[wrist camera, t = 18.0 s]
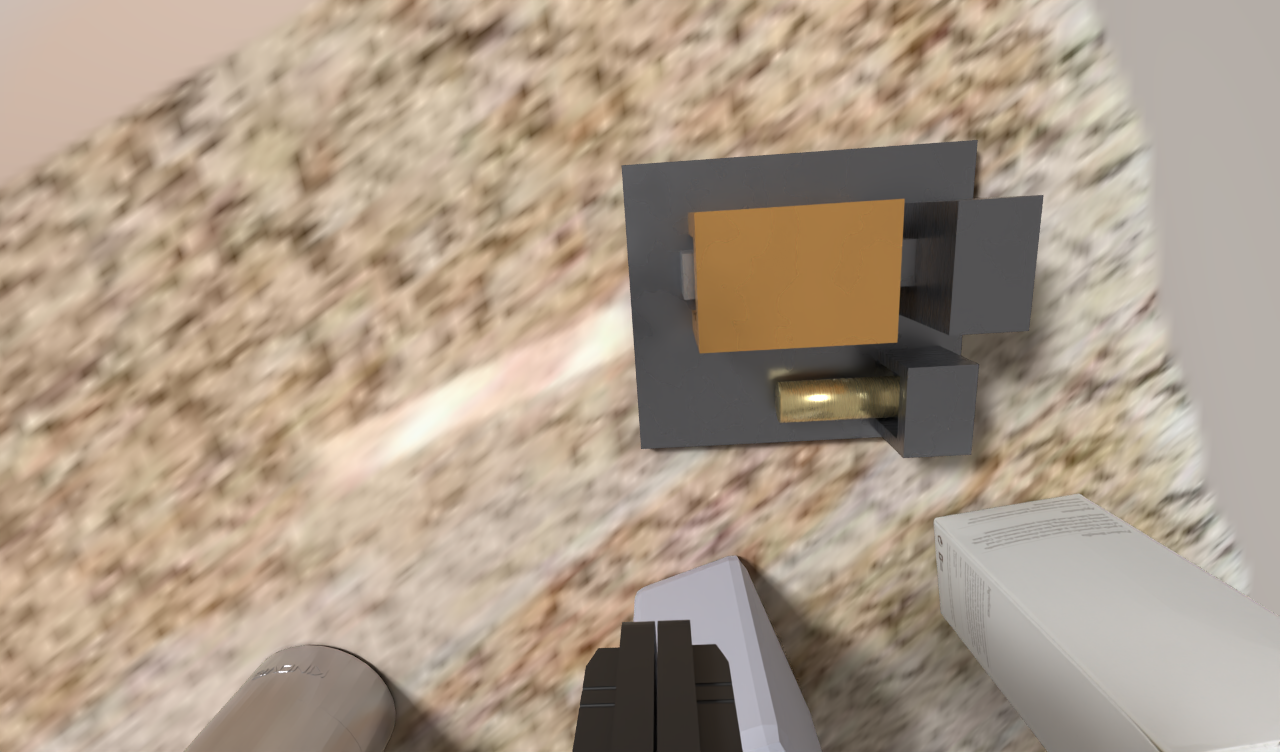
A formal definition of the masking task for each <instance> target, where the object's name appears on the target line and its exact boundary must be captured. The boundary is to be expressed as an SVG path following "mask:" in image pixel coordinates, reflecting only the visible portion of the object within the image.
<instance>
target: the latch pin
mask: <svg viewBox="0 0 1280 752" xmlns="http://www.w3.org/2000/svg"><path fill="white" fill-rule="evenodd" d="M899 392H900V376H899V375H896V376H878V377H860V378H841V379H823V380H804V381H786V382H777V383H776V386H775V408H776V415H777V419H778V421H779V423H788V422H808V421H827V420H847V419H866V418H886V417H898V411H899Z"/></svg>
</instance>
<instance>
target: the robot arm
mask: <svg viewBox="0 0 1280 752" xmlns="http://www.w3.org/2000/svg"><path fill="white" fill-rule="evenodd" d="M395 715H396V711H395V706H394V701H393V698H392V696H391V694H390V692H389V689H388V687H387V686H386V684H385V683H384V682H383V680H382V679H381V678H380V676H379V675H378V674H377V673H376V672H375V671H374V670H373V669H371V668H370V667H369V666H368V665H367V664H366V663H364V662H362V661H361V660H359V659H358V658H356V657H354V656H353V655H350V654H348V653H345V652H343V651H341V650H338V649H334V648H329V647H325V646H315V645H303V646H296V647H290V648H287V649H284V650H282V651H279V652H277V653H275V654H274V655H272V656H270V657H269V658H267V659H266V660H265V661H264V662H263V663H262V664H261V665H260V666H259V667H258V668H257V669H256V671H255V672H254V673H253V674H252V675H251V676H250V677H249V678H248V680H247V681H246V682H245V683H244V684H243V685H242V686H241V687H240V689H239V690H238V691H237V692H236V693H235V694H234V695H233V697H232V698H231V699H230V700H229V701H228V702H227V703H226V704H225V706H224V707H223V708H222V709H221V710H220V711H219V712H218V713H217V714H216V715H215V716H214V718H213V719H212V720H211V721H210V722H209V723H208V724H207V726H206V727H205V728H204V729H203V730H202V731H201V732H200V733H199V735H198V736H197V737H196V738H195V739H194V740H193V741H192V743H191V744H190V745H189V746H188V747H187V748H186V749H185V751H184V752H383V751H384V749H385V747H386V745H387V743H388V741H389V739H390V737H391V735H392V732H393V729H394V726H395ZM573 752H743V749H742V743H741V736H740V730H739V724H738V717H737V711H736V705H735V698H734V692H733V686H732V679H731V673H730V667H729V661H728V660H727V658H726V657H725V656H724V654H723V653H722V652H721V650H720V649H719V647H718V646H717V645H716V644H703V645H692V637H691V625H690V620H665V621H658V622H657V640H656V626H655V621H642V622H622V627H621V638H620V648H598V650H597V651H596V653H595V654H594V656H593V657H592V658H591V660H590V661H589V663H588V664H587V666H586V670H585V676H584V682H583V691H582V695H581V701H580V708H579V714H578V720H577V726H576V733H575V739H574V745H573Z"/></svg>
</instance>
